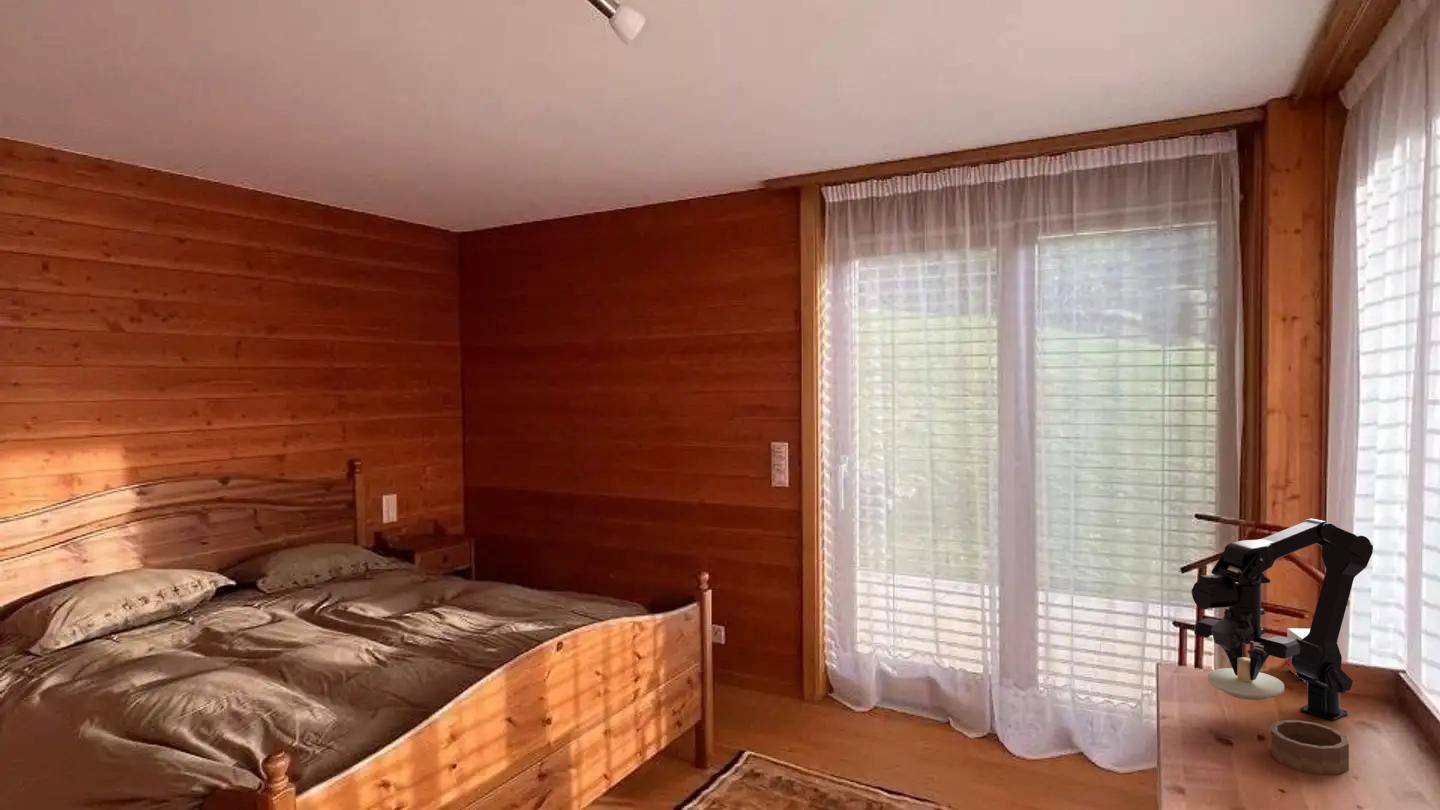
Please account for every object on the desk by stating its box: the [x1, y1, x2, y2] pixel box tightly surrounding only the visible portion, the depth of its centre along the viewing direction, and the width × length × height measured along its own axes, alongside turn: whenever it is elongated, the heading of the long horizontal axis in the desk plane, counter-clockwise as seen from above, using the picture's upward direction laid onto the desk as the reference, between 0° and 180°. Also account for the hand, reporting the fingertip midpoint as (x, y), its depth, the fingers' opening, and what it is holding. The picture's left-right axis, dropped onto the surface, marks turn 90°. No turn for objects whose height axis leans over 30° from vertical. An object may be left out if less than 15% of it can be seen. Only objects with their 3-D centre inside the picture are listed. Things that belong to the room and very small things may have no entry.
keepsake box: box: [1270, 719, 1350, 776], centre depth 161 cm, size 12×12×5 cm
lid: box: [1207, 656, 1285, 701], centre depth 177 cm, size 14×14×7 cm
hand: (1245, 677), depth 177 cm, fingers closed on lid, 3 cm apart
